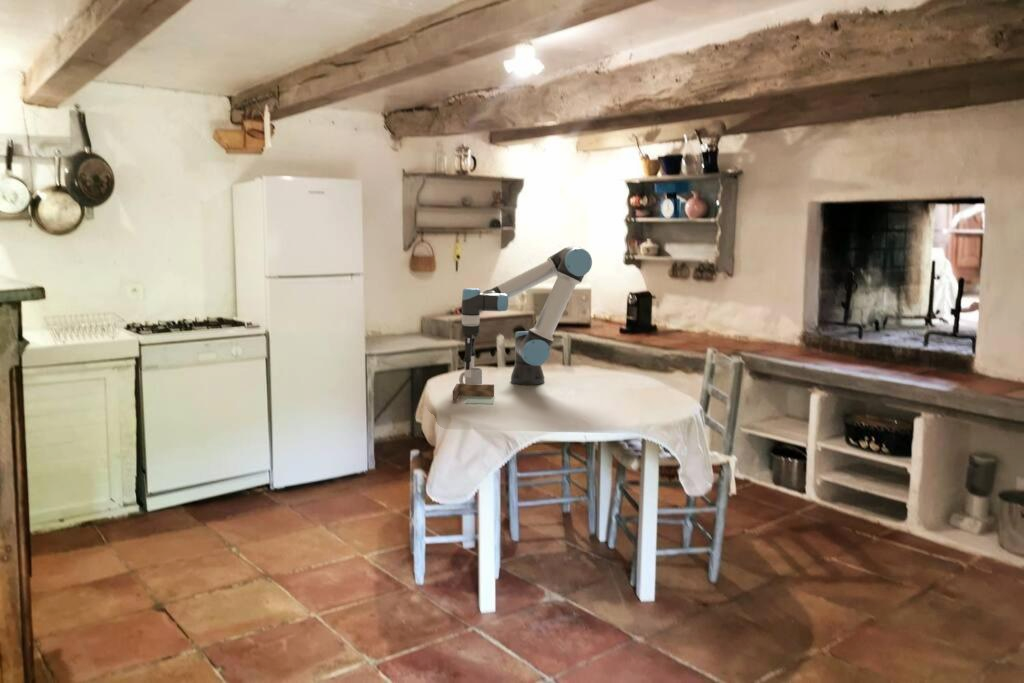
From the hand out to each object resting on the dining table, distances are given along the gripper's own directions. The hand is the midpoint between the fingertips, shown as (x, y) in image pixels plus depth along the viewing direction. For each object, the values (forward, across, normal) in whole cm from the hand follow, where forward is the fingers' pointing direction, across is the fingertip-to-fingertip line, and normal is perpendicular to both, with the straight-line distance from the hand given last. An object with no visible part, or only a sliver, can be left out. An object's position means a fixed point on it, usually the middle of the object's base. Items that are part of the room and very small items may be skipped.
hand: (469, 374), depth 339 cm
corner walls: (+7, +18, +4) cm, 20 cm away
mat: (+7, +19, +7) cm, 22 cm away
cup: (+7, 0, +1) cm, 7 cm away
